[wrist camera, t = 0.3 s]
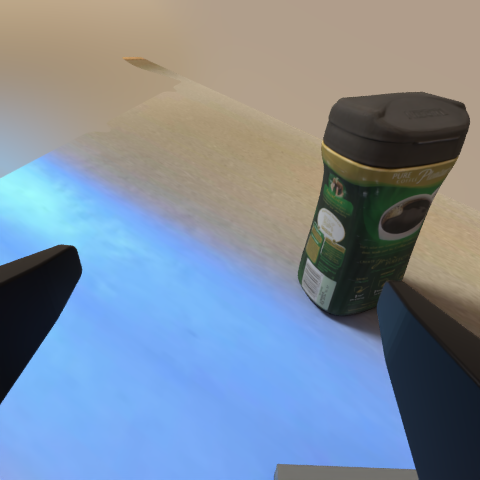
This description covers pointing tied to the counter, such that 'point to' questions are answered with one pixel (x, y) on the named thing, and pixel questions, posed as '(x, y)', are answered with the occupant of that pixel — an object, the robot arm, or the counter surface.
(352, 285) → the coffee jar
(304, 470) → the tray
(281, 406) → the counter surface
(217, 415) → the counter surface
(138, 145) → the counter surface
